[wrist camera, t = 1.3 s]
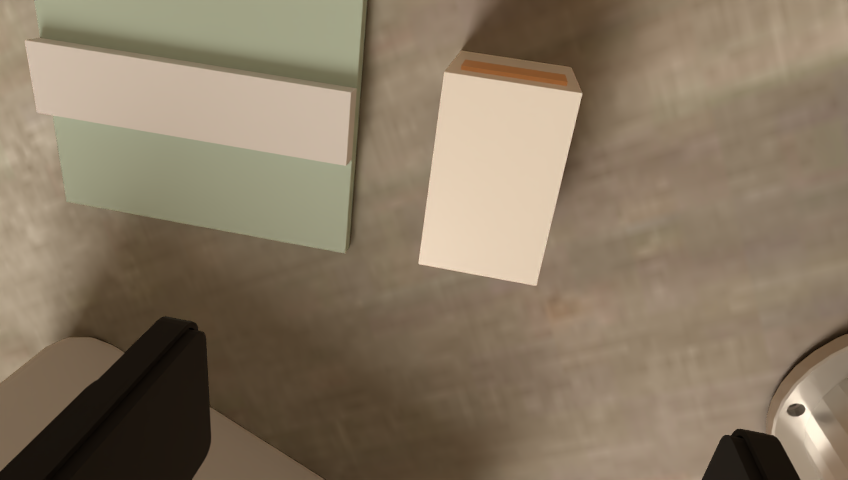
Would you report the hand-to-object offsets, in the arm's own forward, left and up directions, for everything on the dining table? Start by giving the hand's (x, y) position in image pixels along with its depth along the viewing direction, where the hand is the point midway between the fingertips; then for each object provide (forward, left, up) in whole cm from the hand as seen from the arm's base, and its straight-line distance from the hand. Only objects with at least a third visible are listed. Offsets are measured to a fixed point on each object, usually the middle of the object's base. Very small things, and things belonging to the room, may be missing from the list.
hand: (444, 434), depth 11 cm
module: (0, 0, -20) cm, 20 cm away
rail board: (+15, 0, -20) cm, 25 cm away
